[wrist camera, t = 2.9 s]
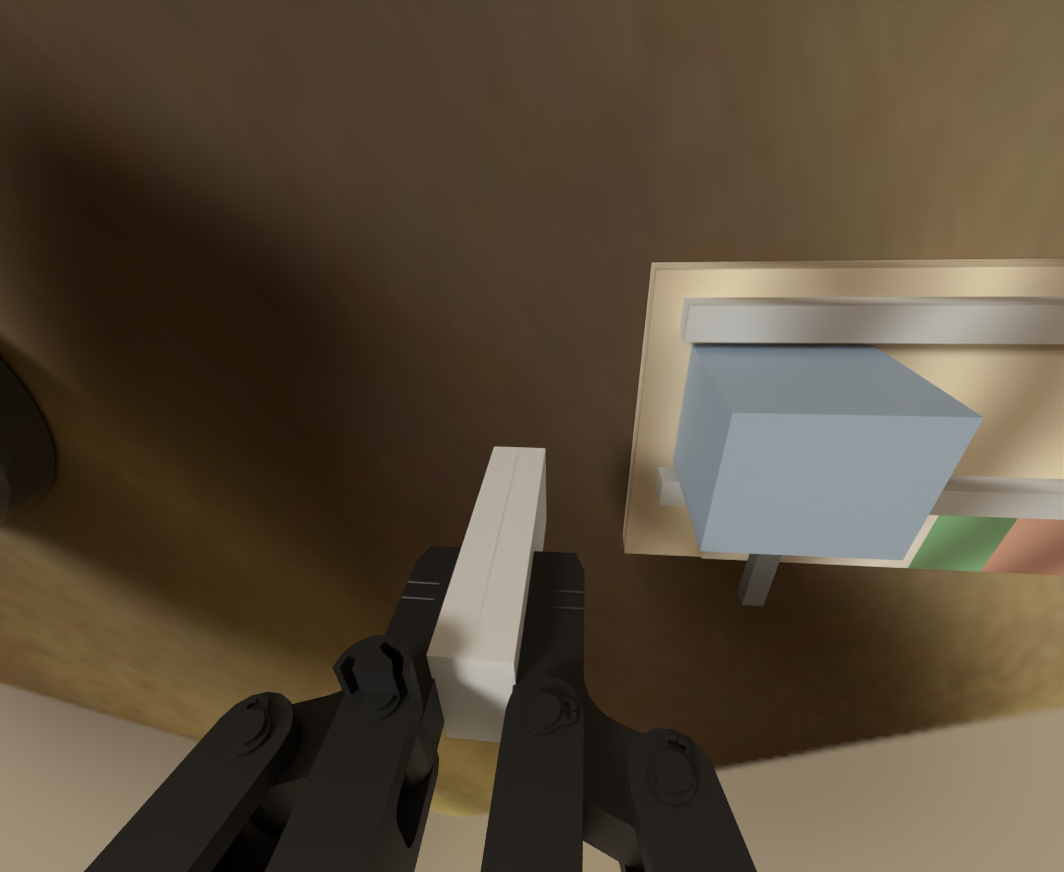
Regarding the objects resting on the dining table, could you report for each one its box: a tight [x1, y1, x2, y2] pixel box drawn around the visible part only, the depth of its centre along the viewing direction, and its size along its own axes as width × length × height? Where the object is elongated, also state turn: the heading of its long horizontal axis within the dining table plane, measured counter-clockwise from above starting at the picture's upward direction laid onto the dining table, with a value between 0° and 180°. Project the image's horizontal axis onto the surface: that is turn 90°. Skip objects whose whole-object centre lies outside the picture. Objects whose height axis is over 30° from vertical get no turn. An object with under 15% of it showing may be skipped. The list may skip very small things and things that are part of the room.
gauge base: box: [623, 258, 1064, 575], centre depth 15 cm, size 25×13×7 cm, turn 91°
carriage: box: [673, 344, 984, 606], centre depth 16 cm, size 6×9×5 cm, turn 1°
